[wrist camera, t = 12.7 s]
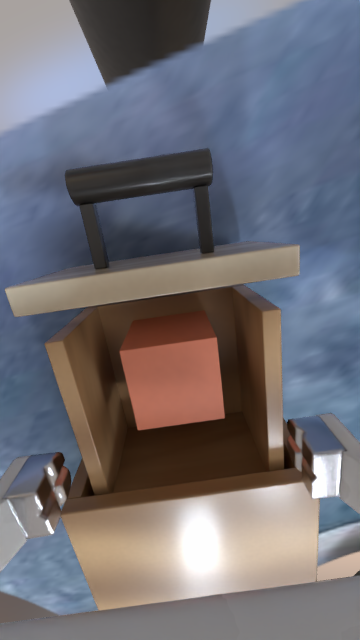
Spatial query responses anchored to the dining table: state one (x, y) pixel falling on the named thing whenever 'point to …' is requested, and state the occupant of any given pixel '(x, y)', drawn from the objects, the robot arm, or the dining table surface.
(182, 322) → the block
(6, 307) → the dining table surface
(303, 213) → the dining table surface
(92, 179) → the drawer
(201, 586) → the cabinet
